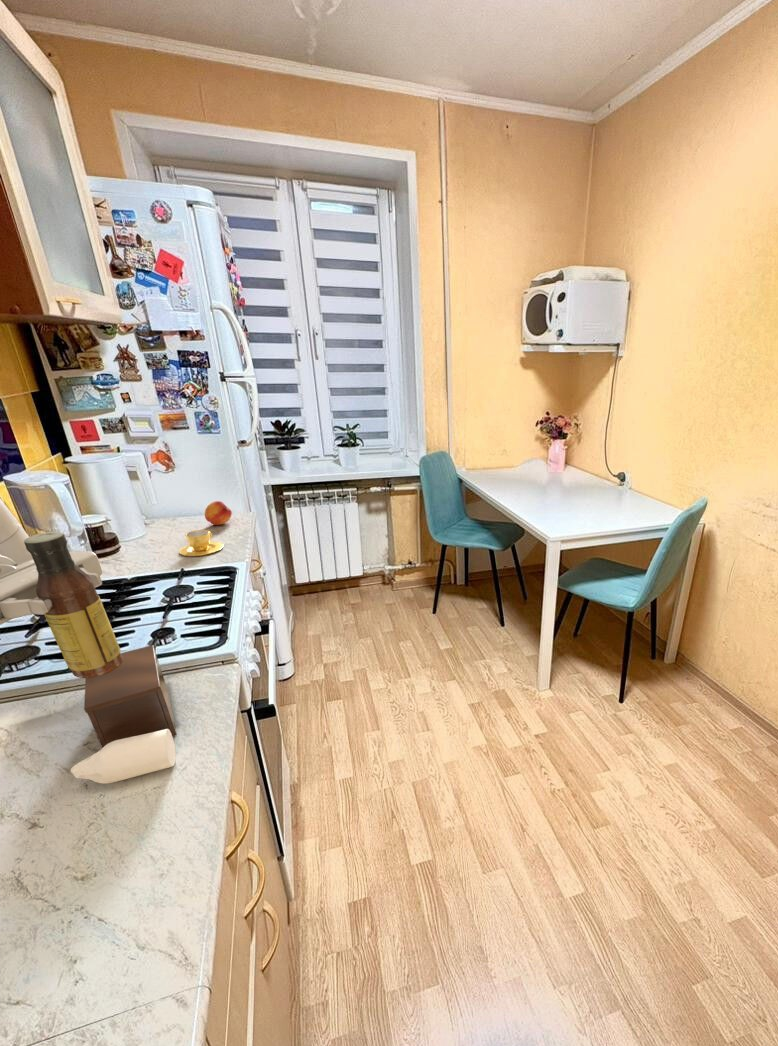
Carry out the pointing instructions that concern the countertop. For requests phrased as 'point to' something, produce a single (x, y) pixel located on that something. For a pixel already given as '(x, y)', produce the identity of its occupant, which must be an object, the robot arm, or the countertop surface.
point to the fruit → (217, 513)
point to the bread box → (135, 716)
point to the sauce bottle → (73, 608)
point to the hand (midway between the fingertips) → (73, 593)
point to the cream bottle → (128, 758)
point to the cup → (200, 543)
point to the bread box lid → (124, 680)
